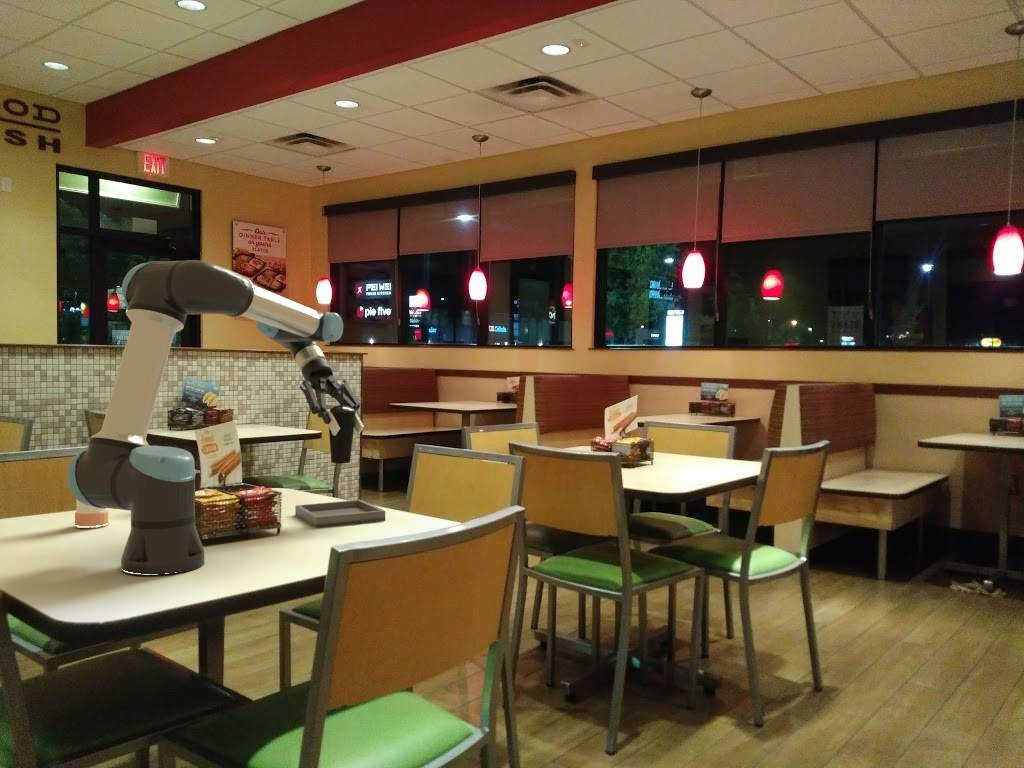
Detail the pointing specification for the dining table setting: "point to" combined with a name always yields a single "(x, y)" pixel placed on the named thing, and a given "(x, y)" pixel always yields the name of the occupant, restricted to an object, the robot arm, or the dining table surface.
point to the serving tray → (339, 513)
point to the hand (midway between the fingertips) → (348, 431)
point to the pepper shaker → (90, 515)
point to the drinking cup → (342, 432)
